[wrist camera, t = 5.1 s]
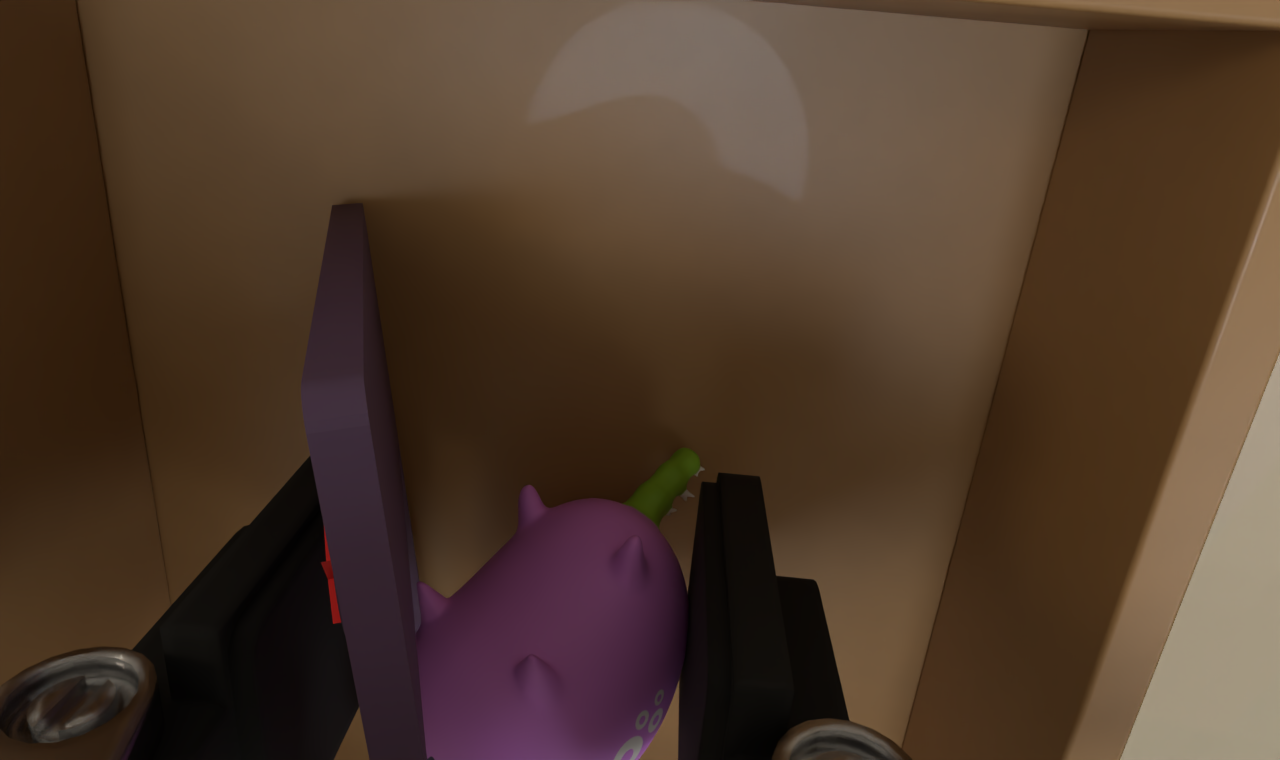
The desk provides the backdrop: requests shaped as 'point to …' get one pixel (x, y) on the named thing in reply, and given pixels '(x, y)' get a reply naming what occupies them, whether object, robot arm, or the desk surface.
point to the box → (663, 306)
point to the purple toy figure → (481, 576)
